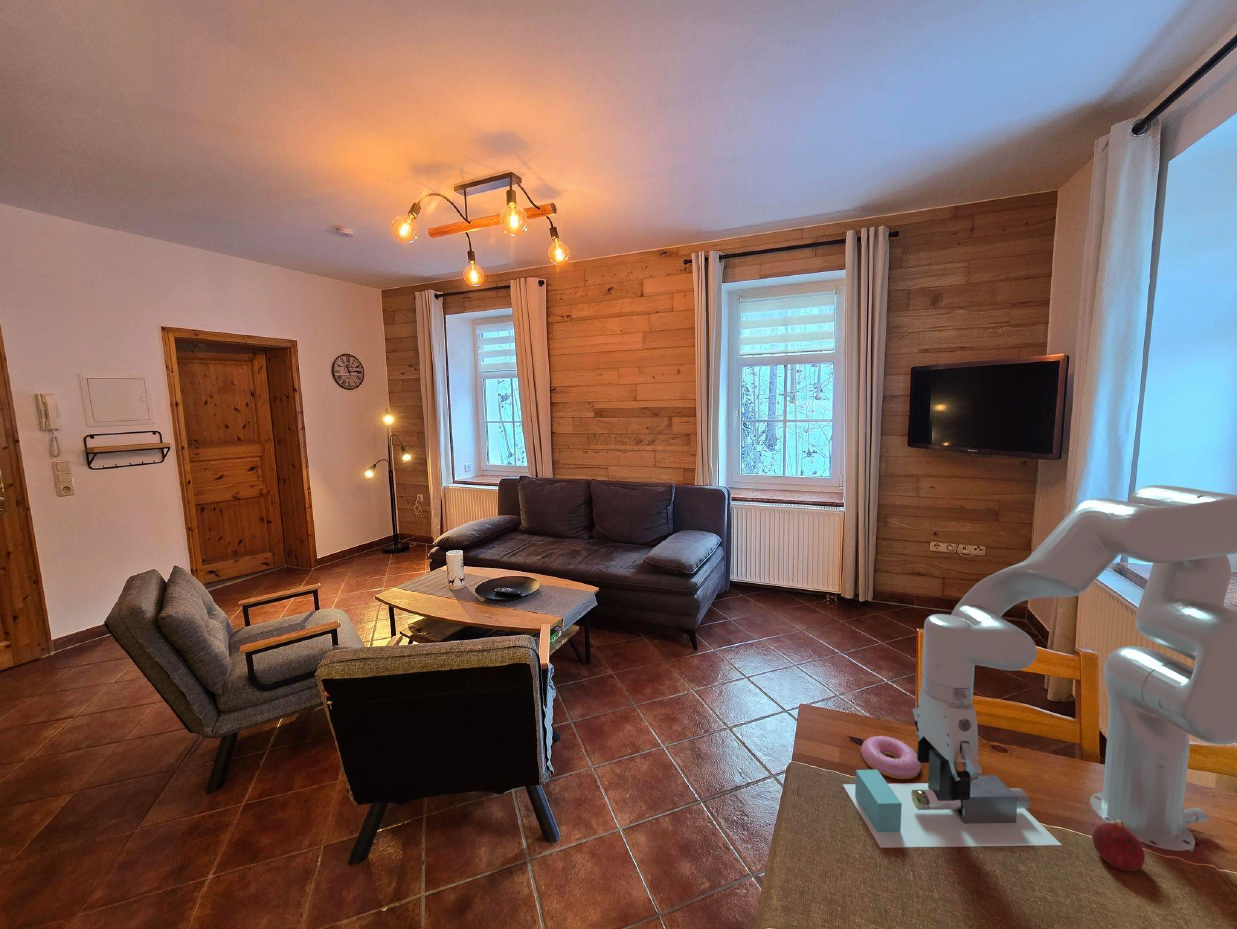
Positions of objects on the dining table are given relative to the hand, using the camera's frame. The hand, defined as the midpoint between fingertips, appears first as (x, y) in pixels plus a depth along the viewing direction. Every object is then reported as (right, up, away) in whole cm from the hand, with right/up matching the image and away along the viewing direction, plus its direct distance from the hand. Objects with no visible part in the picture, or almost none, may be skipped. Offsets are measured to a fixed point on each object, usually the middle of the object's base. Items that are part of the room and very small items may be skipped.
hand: (942, 778), depth 87 cm
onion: (+22, -8, -9) cm, 25 cm away
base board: (+1, -8, +1) cm, 8 cm away
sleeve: (+7, -6, +1) cm, 10 cm away
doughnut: (-1, -7, +14) cm, 16 cm away
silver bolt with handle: (+5, -5, 0) cm, 7 cm away
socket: (-11, -7, +1) cm, 13 cm away
